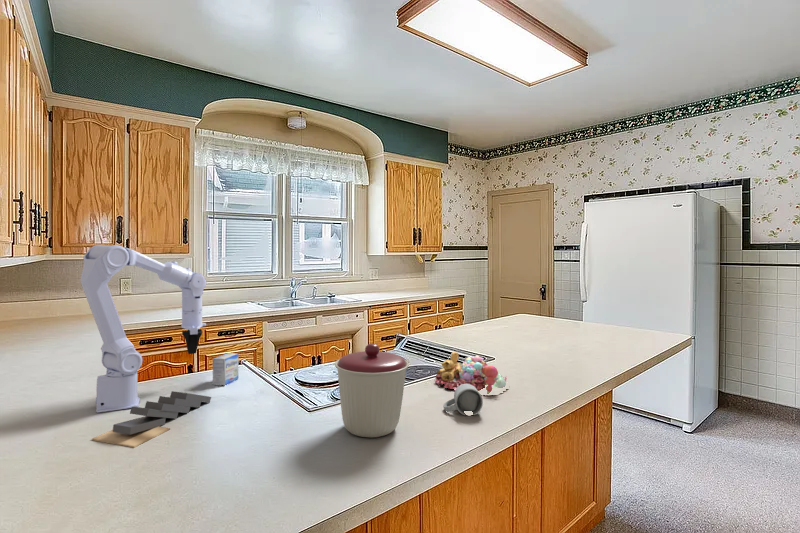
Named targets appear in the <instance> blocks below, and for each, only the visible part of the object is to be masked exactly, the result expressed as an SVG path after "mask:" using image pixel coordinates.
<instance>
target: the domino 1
mask: <svg viewBox="0 0 800 533" xmlns="http://www.w3.org/2000/svg"><path fill="white" fill-rule="evenodd" d="M166 419H167V418H163V417H151V416H142V417H138V418H134V419H130V420H129V419H128V420H126V421H122V422H118V423H115V424H113V427H112V430H113V432H117V433H123V434H129V435H131V434H134V433H137V432H141V431H144V430H148V429H151V428H154V427H158V426H159V427H162V426H165V425H166Z"/></svg>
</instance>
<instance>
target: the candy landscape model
mask: <svg viewBox="0 0 800 533" xmlns="http://www.w3.org/2000/svg"><path fill="white" fill-rule="evenodd" d="M459 355H460V354H459V352H457V351H453V352H451V354H450V359H449V358H448V359H445V360H444V361H442V363H441V366H442V368H440V369H438V371H436V372H437V373H436V376H435V379H434V383H436V384H437V385H438V386H443V389H444V388H448V389H447V390H449V389H457V387H458V386H460V385H462V384H471V385H473V386H474V387H475V388H476V389H477V390H478V391H480V390H481V389H483V388H485V385H488V386H487V387H486V390H487V394H489V393H490V392H491V391H492V389H493V388H492V385H493V386H494V387H497V388H503V387H505V386H506V382H507V376H504V377H503V375H501V373H500V372H499V370H498V369H497V367H496V366H494V365H488V364H487V363H486V362H485V360H484V358H483V357H481V356H479V355H477V354H476V355H475V356H471V357H470V356H468V357H467V356H466V357H465V358H464V361H463V362H458V360H459ZM443 384H444V385H443ZM438 386H437V387H438Z"/></svg>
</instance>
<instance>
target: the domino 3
mask: <svg viewBox="0 0 800 533" xmlns="http://www.w3.org/2000/svg"><path fill="white" fill-rule="evenodd" d="M144 408H149V409H156V410H163V411H173V412H178V413H183V414H190V410H191V407H189V406H180V405H172V404H165V403H158V401H157V402H156V401H148V400H146V402H145V405H144Z"/></svg>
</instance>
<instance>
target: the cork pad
mask: <svg viewBox="0 0 800 533" xmlns="http://www.w3.org/2000/svg"><path fill="white" fill-rule="evenodd" d="M169 430H171V428H170V427H165V426H158V427H154V428H151V429H148V430H144V431H141V432H137V433H134V434H131V435H129V434H123V433H117V432H113V429H110V430H109V431H106V432H103V433H102V434H99V435H97V436H95V437H93V438H91V441H96V442H102V443H107V444H112V445H119V446H124V447H129V448H136V447H138V446H140V445H142V444H145V443H146V442H148V441H150V440H152V439H154V438H156V437H158V436H160V435H162V434H164V433H166V432H168V431H169Z"/></svg>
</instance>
